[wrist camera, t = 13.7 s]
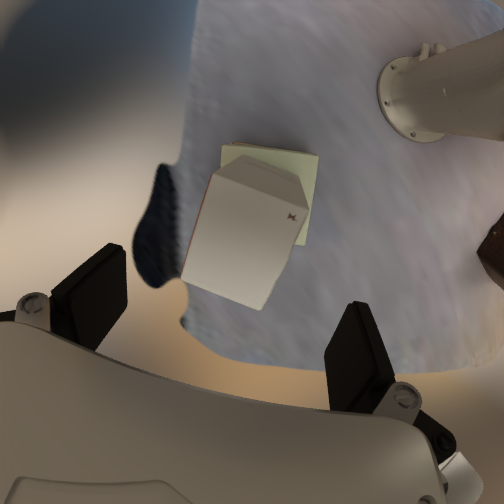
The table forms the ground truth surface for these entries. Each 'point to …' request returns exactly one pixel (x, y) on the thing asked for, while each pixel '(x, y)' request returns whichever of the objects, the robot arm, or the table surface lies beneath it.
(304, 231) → the tower top block
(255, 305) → the small box
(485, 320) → the table surface
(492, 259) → the manual coffee grinder
